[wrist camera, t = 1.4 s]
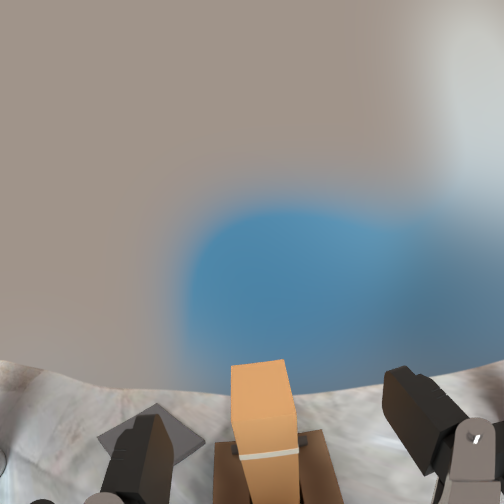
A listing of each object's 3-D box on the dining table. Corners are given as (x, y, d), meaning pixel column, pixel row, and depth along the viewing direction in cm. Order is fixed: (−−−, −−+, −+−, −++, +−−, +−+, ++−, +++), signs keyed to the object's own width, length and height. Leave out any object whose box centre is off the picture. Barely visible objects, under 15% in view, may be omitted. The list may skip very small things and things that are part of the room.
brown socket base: (320, 449, 32) (321, 422, 31) (347, 544, 19) (354, 527, 17) (221, 461, 32) (212, 436, 31) (220, 560, 19) (208, 545, 17)
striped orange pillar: (292, 479, 29) (284, 358, 23) (300, 522, 23) (297, 413, 18) (256, 484, 28) (230, 365, 23) (259, 527, 23) (230, 422, 17)
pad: (138, 488, 28) (135, 485, 27) (98, 440, 35) (96, 437, 35) (205, 443, 35) (203, 439, 35) (158, 406, 43) (156, 403, 42)
